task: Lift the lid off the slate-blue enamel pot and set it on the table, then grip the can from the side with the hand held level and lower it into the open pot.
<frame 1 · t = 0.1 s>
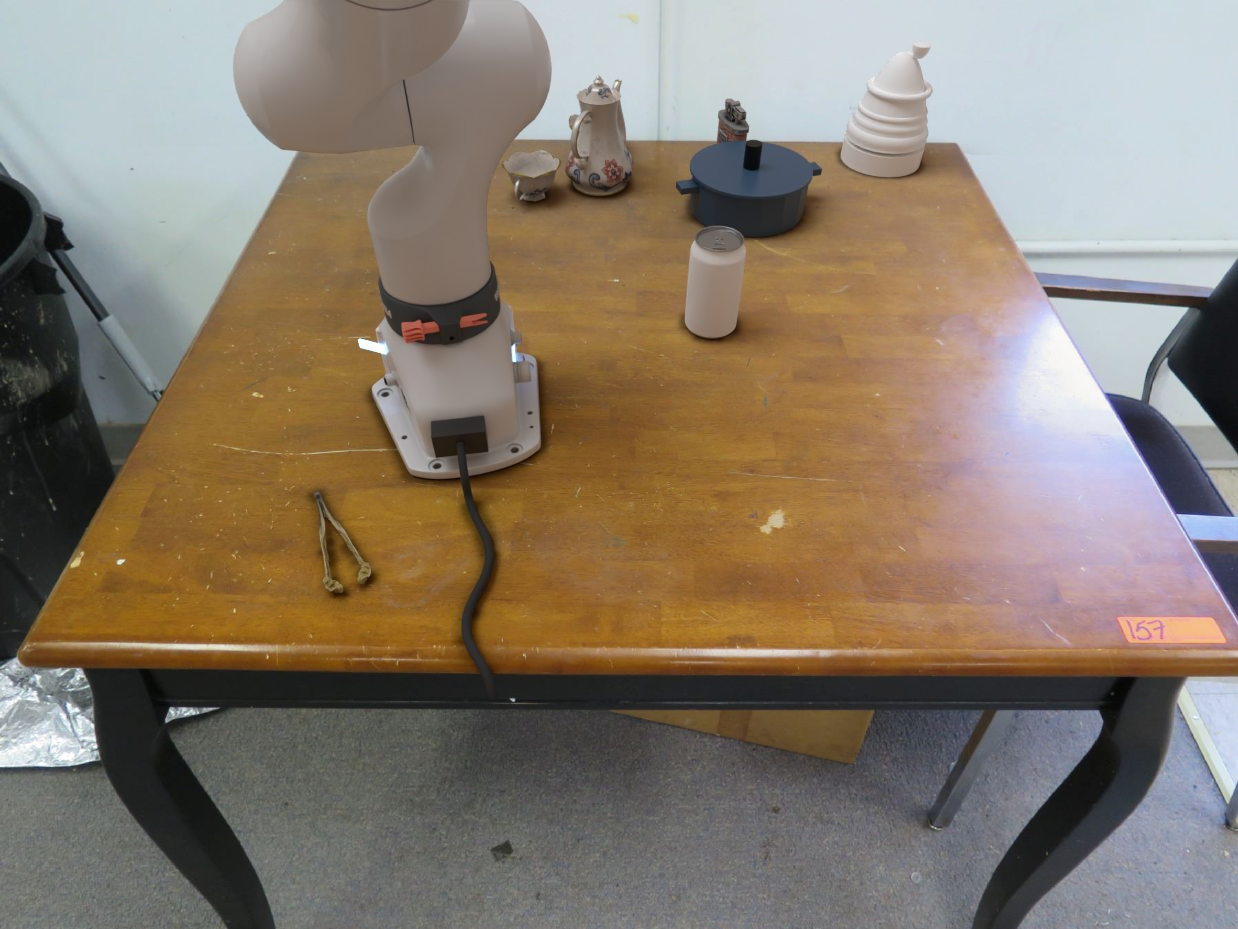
chinaware: (584, 180, 125), on the table
lid: (750, 170, 114), point 6 cm above the table, touching pot
can: (710, 325, 98), on the table
lighter: (728, 166, 129), on the table
pot: (745, 208, 119), on the table
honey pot: (879, 160, 130), on the table
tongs: (330, 544, 74), on the table
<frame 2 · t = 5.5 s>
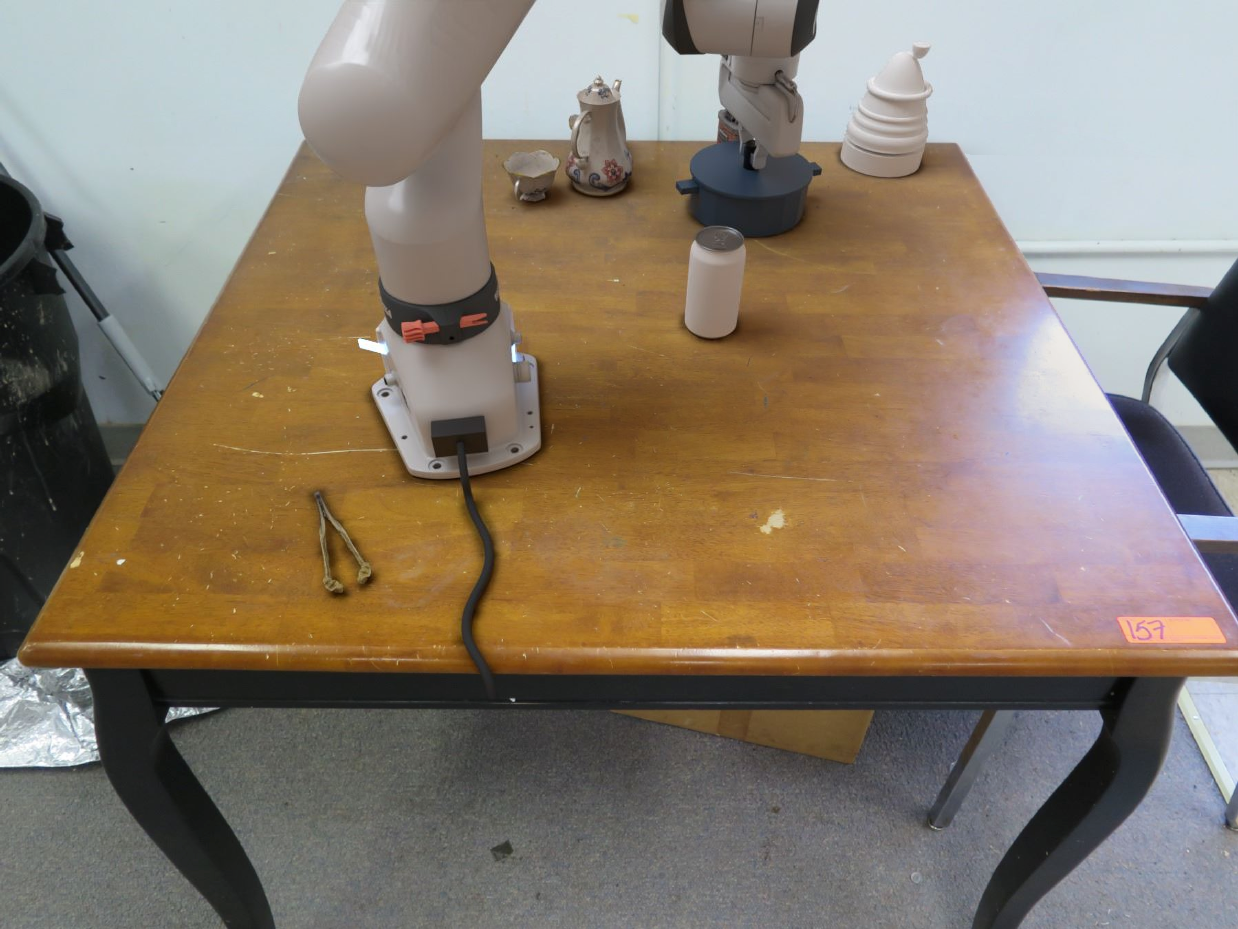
hand: (751, 160, 113), 7 cm above the table, tool pointing down, fingers closed on lid, 2 cm apart
lid: (750, 170, 114), point 6 cm above the table, touching gripper, pot
everything else where it was.
when the fingers open (2 cm above the table, at t = 13.0 s): lid stays where it is, point 1 cm above the table.
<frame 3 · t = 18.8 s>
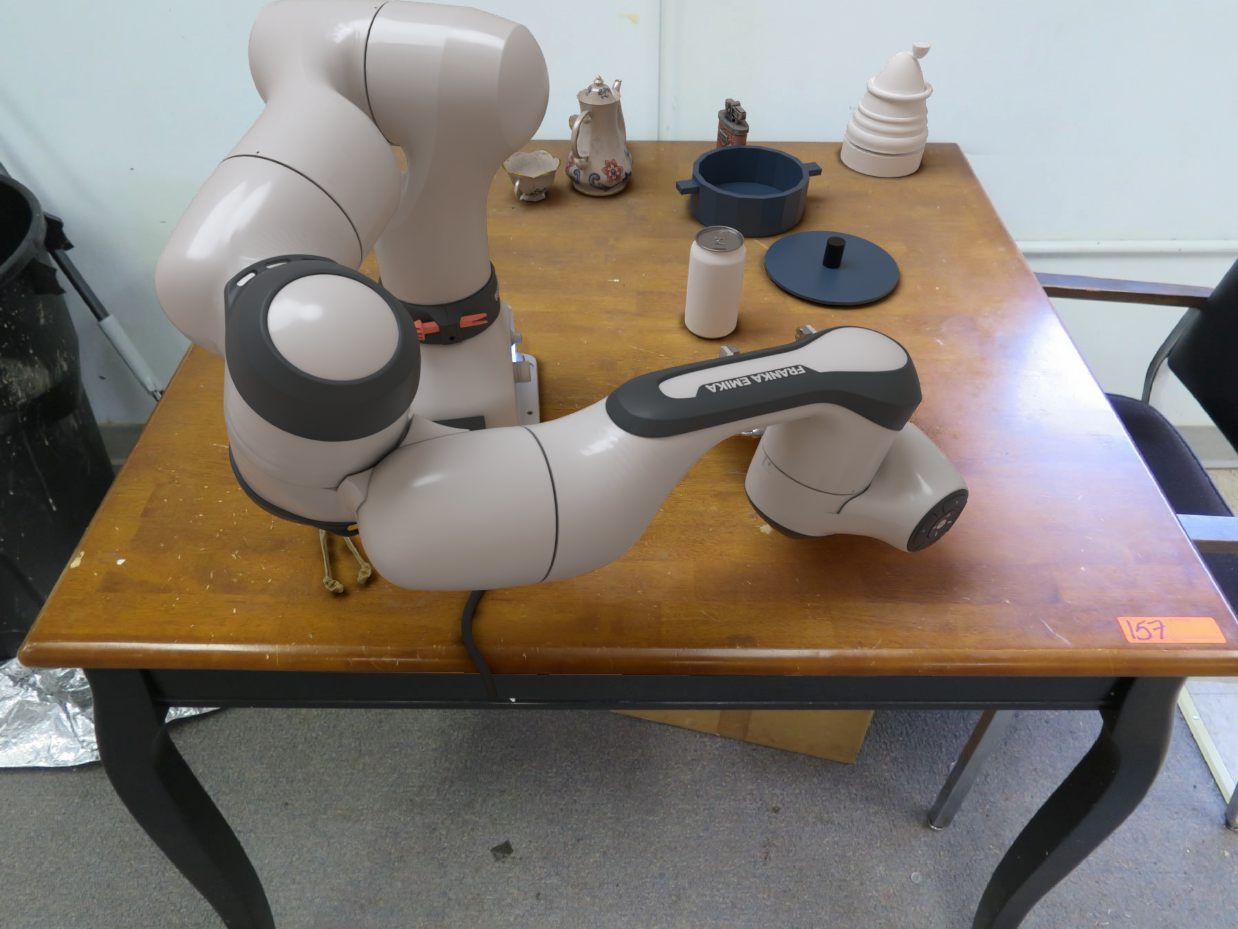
hand: (763, 340, 86), 6 cm above the table, tool horizontal, fingers open, 8 cm apart
lid: (830, 267, 106), point 1 cm above the table
everything else where it was.
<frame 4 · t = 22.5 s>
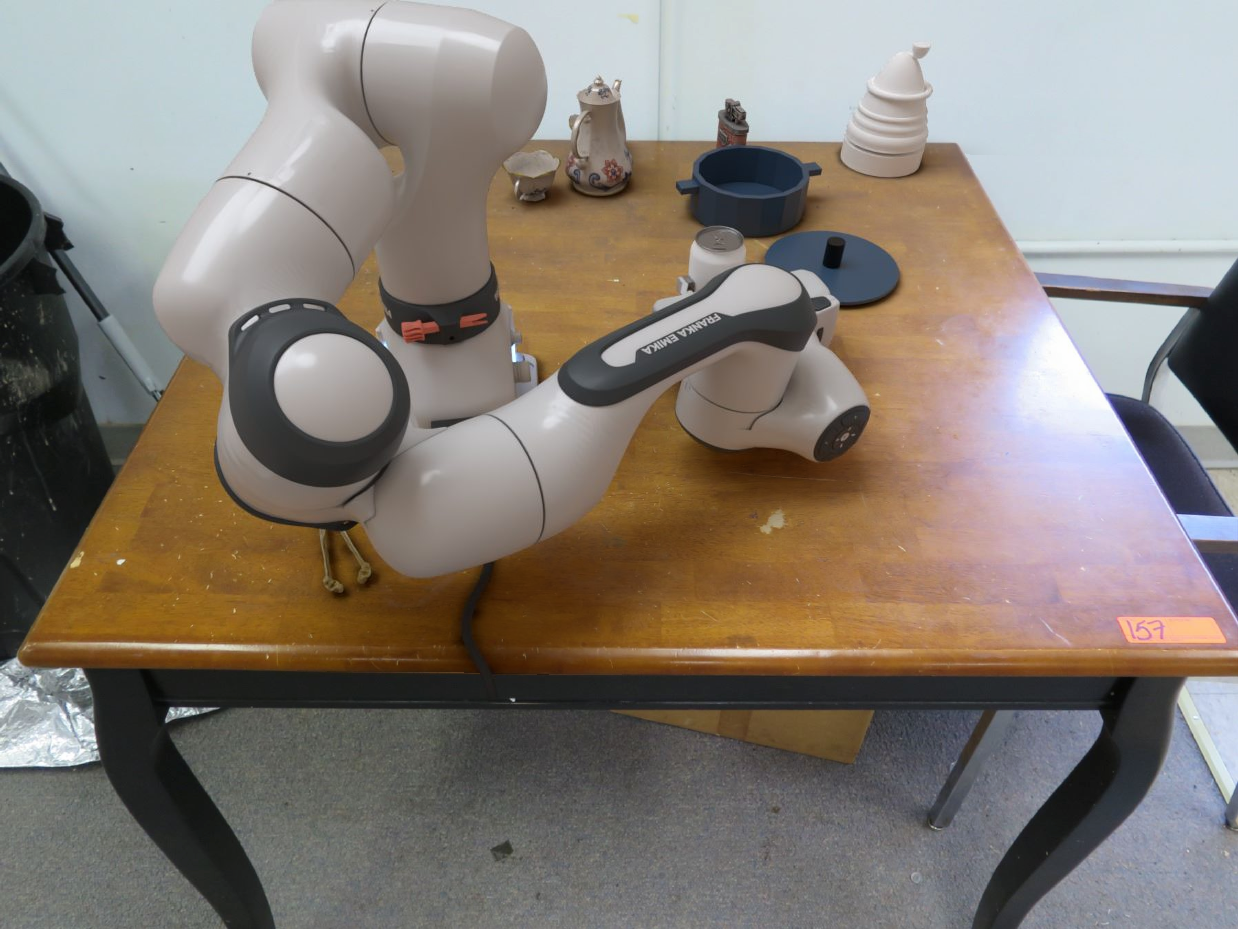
hand: (712, 274, 94), 7 cm above the table, tool horizontal, fingers closed on can, 6 cm apart
can: (710, 325, 98), on the table, touching gripper
everything else where it was.
when the fingers open (8 cm above the table, at t = 33.0 s): can stays where it is, resting on pot.
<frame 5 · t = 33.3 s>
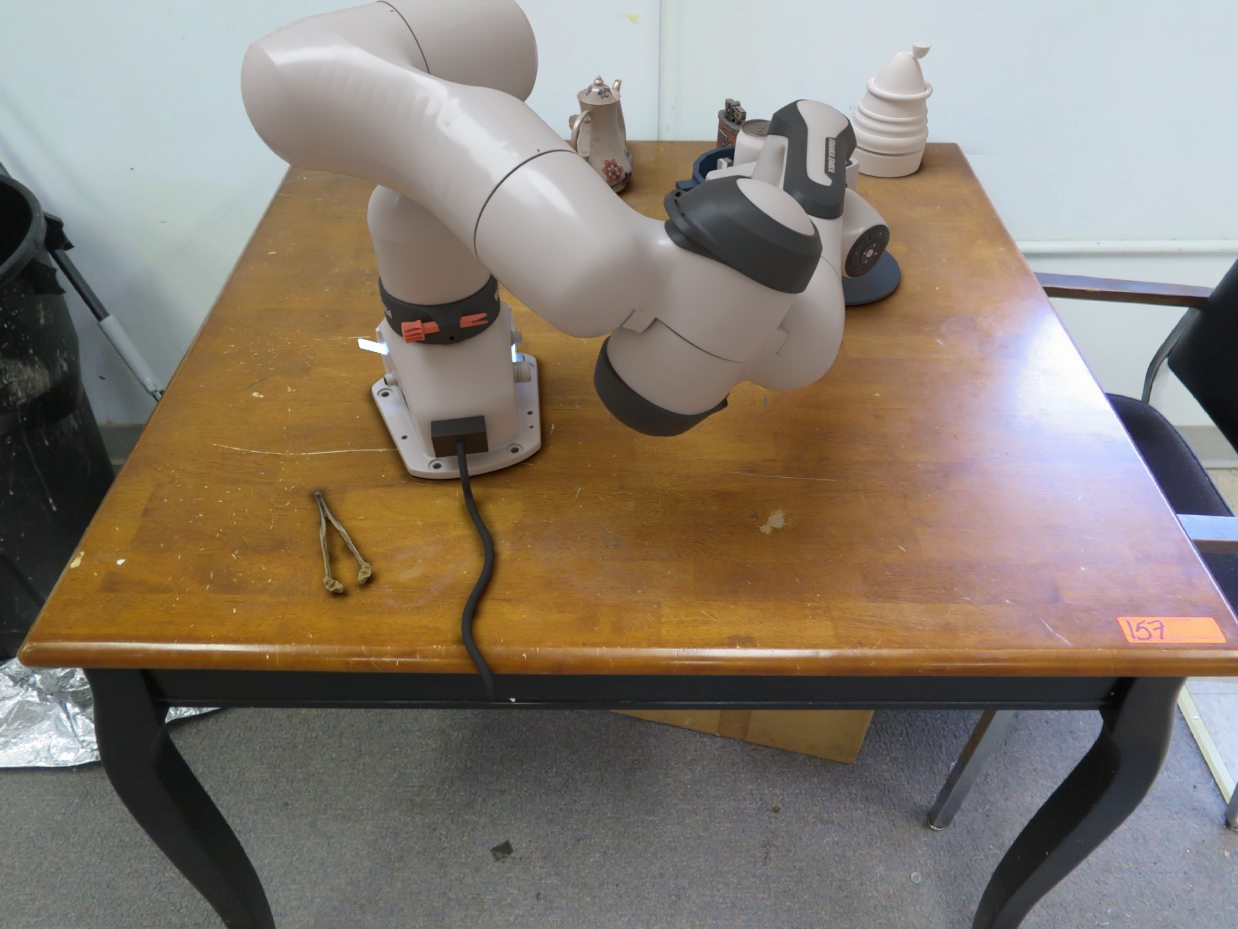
hand: (751, 156, 113), 8 cm above the table, tool horizontal, fingers open, 8 cm apart
lid: (831, 267, 106), point 1 cm above the table, touching arm
can: (750, 208, 118), resting on pot
everything else where it was.
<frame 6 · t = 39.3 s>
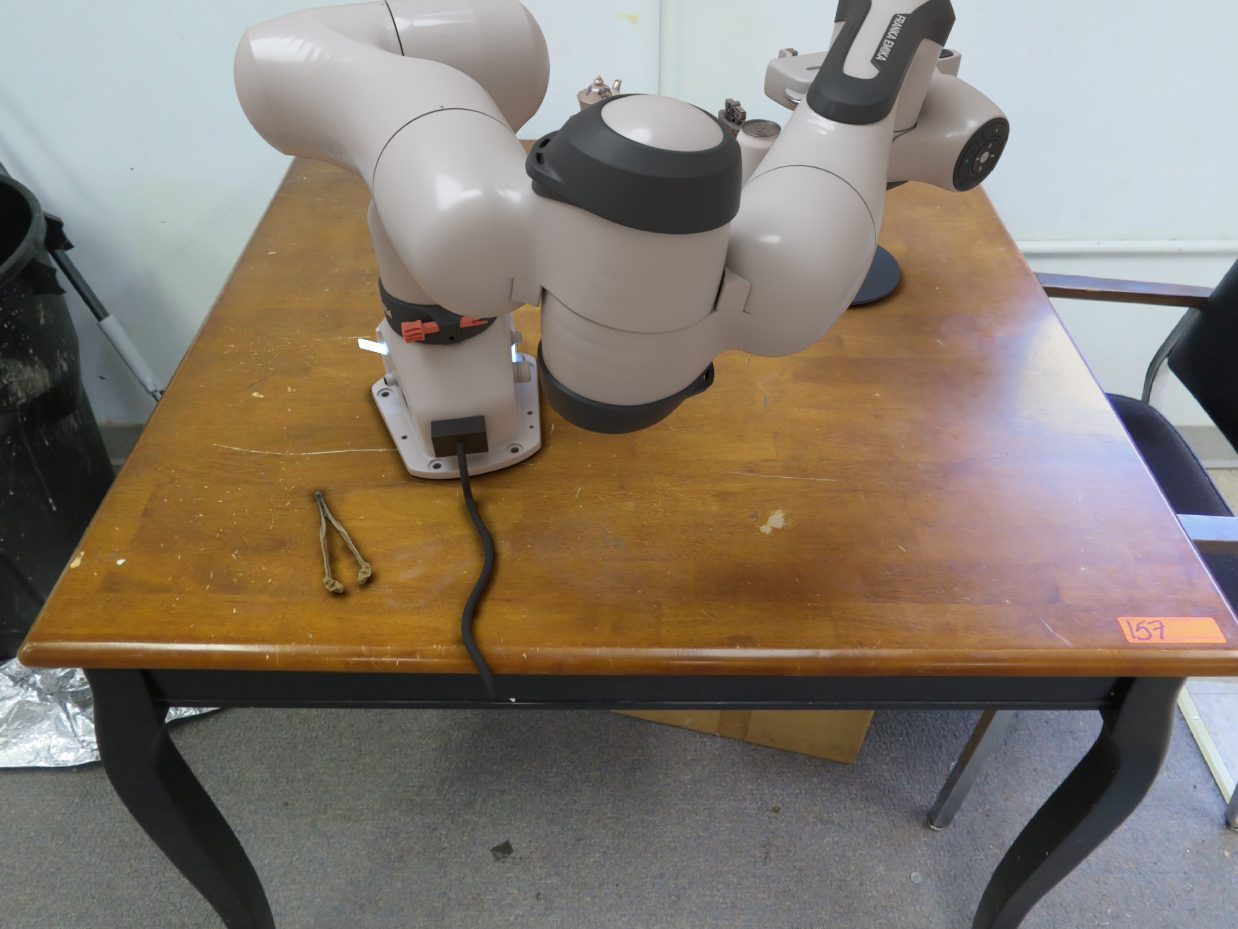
hand: (819, 50, 92), 26 cm above the table, tool horizontal, fingers open, 8 cm apart
lid: (831, 267, 106), point 1 cm above the table
everything else where it was.
at the end: can inside the target area in the pot (0.8 cm from its centre), point 0.3 cm above the pot's base; can tilted 0°; lid inside the target area on the table beside the pot (0.4 cm from its centre), point 0.6 cm above the table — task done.
